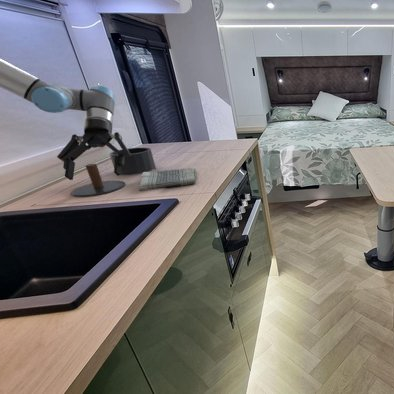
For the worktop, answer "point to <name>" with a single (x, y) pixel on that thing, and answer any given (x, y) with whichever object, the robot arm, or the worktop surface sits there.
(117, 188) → the pot lid
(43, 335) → the worktop surface
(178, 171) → the dish towel
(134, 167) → the pot
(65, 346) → the worktop surface
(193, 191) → the worktop surface
